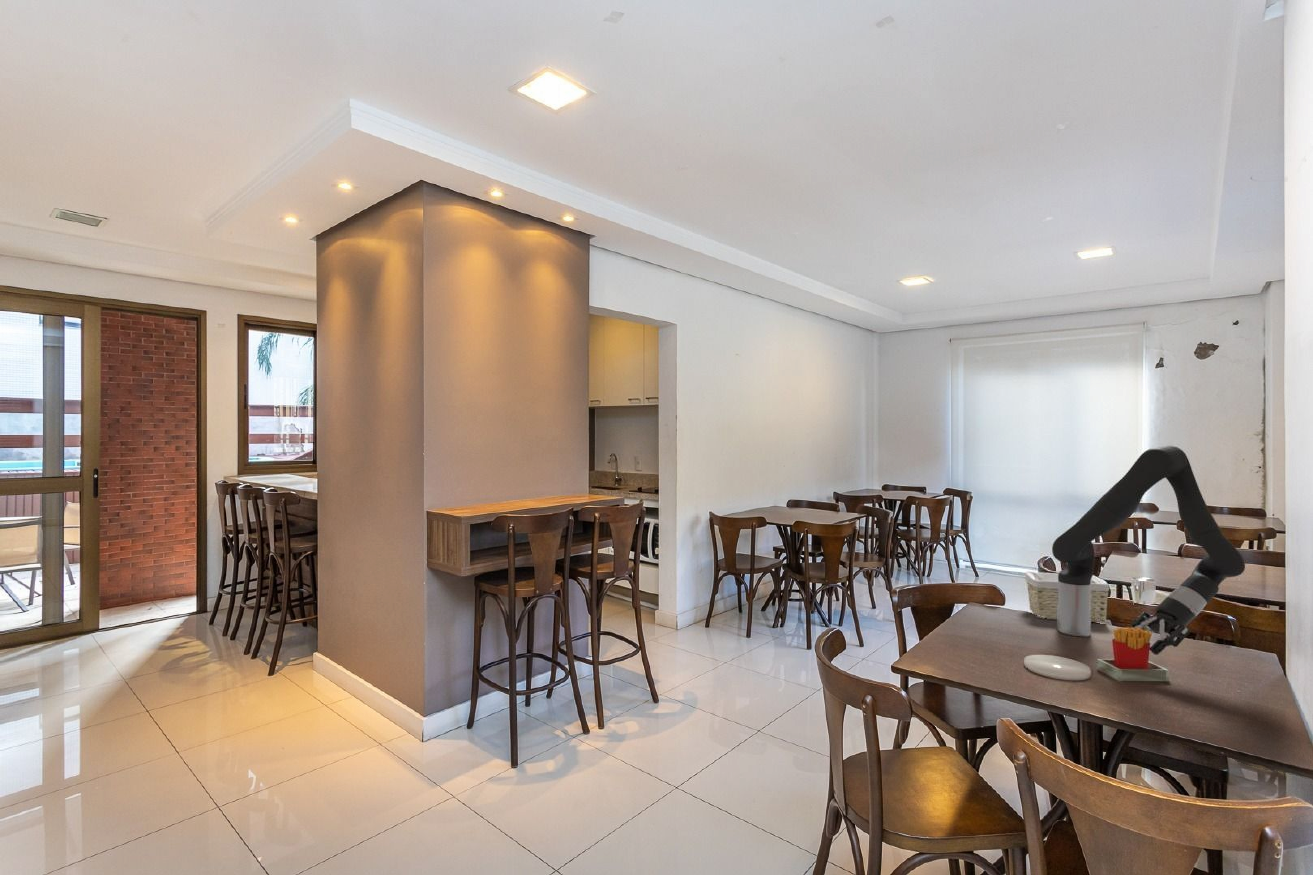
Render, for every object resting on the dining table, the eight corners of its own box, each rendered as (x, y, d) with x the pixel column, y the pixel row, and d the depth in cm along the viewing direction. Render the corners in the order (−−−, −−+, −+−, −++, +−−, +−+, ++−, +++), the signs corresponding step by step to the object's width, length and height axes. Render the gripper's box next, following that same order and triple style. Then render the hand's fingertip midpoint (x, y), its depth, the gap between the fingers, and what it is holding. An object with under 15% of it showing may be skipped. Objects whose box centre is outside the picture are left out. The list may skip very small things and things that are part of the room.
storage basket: (1034, 619, 227) (1034, 579, 227) (1024, 607, 242) (1023, 570, 243) (1111, 625, 219) (1111, 584, 219) (1095, 613, 235) (1095, 574, 235)
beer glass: (1127, 618, 227) (1126, 577, 228) (1139, 616, 230) (1139, 576, 230) (1147, 623, 221) (1147, 581, 221) (1160, 621, 223) (1160, 580, 223)
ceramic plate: (1012, 659, 185) (1012, 654, 185) (1066, 659, 185) (1066, 654, 185) (1045, 680, 169) (1045, 674, 169) (1104, 680, 169) (1104, 674, 169)
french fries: (1118, 677, 172) (1118, 630, 172) (1109, 671, 176) (1109, 625, 176) (1155, 678, 170) (1154, 631, 170) (1145, 672, 175) (1144, 627, 175)
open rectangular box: (1096, 669, 177) (1096, 658, 177) (1144, 669, 177) (1144, 658, 177) (1118, 680, 169) (1118, 669, 169) (1169, 681, 169) (1169, 670, 169)
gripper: (1151, 590, 180) (1112, 629, 180) (1193, 603, 166) (1151, 646, 166) (1170, 608, 180) (1130, 648, 180) (1213, 623, 166) (1171, 665, 166)
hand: (1140, 647), depth 173 cm, fingers open, 8 cm apart
